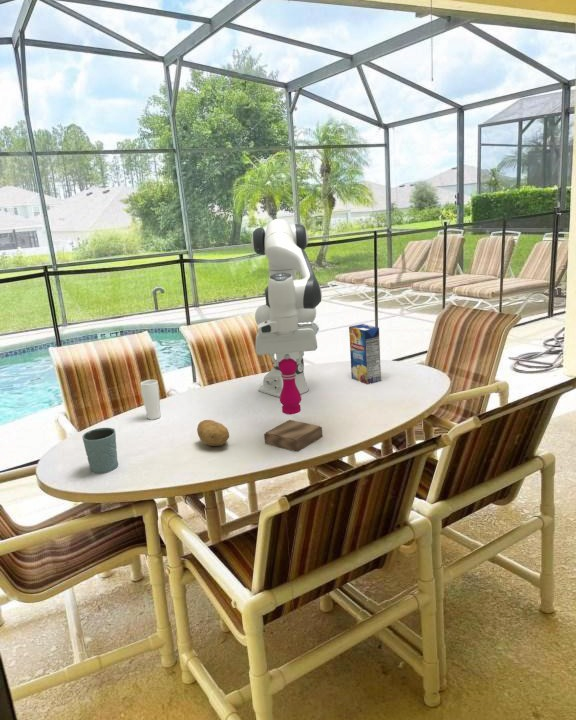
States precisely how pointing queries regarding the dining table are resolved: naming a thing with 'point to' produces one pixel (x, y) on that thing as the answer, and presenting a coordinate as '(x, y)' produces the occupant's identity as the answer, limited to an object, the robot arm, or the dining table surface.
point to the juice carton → (365, 353)
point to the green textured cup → (101, 450)
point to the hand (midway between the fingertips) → (287, 365)
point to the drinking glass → (151, 398)
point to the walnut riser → (293, 435)
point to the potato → (212, 433)
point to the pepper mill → (289, 386)
